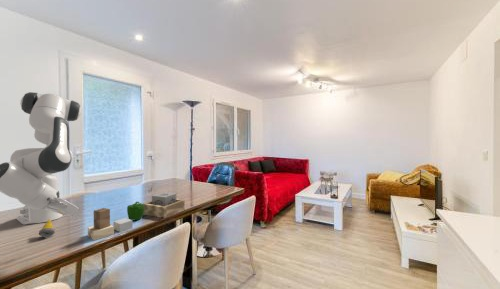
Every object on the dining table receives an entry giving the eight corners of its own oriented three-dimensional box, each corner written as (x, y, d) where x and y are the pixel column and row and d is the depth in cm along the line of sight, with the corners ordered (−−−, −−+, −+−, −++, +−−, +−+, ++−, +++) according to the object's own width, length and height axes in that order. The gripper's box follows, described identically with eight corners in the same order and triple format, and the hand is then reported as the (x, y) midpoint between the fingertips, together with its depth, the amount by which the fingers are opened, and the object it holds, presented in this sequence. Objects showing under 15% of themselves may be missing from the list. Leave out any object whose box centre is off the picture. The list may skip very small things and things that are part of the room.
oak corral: (142, 213, 132) (142, 203, 132) (163, 205, 147) (163, 196, 147) (164, 218, 125) (164, 207, 125) (184, 209, 141) (184, 199, 141)
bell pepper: (125, 218, 124) (125, 200, 124) (141, 215, 129) (141, 198, 129) (129, 223, 118) (129, 204, 117) (145, 219, 123) (145, 201, 123)
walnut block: (93, 227, 102) (93, 210, 102) (103, 224, 106) (103, 207, 106) (100, 229, 100) (100, 212, 100) (109, 226, 104) (109, 209, 104)
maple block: (87, 236, 103) (87, 227, 103) (107, 230, 109) (107, 222, 109) (93, 241, 98) (93, 232, 98) (113, 234, 104) (113, 226, 104)
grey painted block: (113, 229, 110) (113, 221, 110) (126, 225, 115) (126, 217, 115) (120, 232, 107) (119, 224, 106) (132, 228, 112) (132, 220, 111)
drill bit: (34, 241, 97) (39, 220, 103) (49, 242, 101) (52, 222, 107) (41, 235, 96) (46, 214, 102) (56, 236, 100) (59, 216, 106)
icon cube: (176, 209, 141) (176, 193, 141) (165, 214, 132) (165, 197, 132) (163, 207, 145) (163, 192, 145) (151, 212, 136) (151, 195, 135)
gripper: (64, 193, 81) (92, 211, 90) (34, 186, 89) (62, 204, 98) (49, 208, 77) (81, 226, 86) (19, 200, 85) (50, 217, 94)
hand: (71, 214), depth 92 cm, fingers open, 8 cm apart
